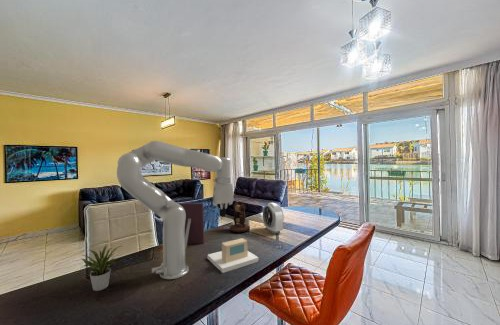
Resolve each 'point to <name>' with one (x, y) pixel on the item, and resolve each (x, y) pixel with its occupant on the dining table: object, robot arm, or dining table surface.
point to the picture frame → (194, 223)
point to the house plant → (100, 269)
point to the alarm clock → (273, 218)
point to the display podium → (225, 267)
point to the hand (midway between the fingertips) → (222, 216)
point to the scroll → (239, 219)
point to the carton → (234, 250)
